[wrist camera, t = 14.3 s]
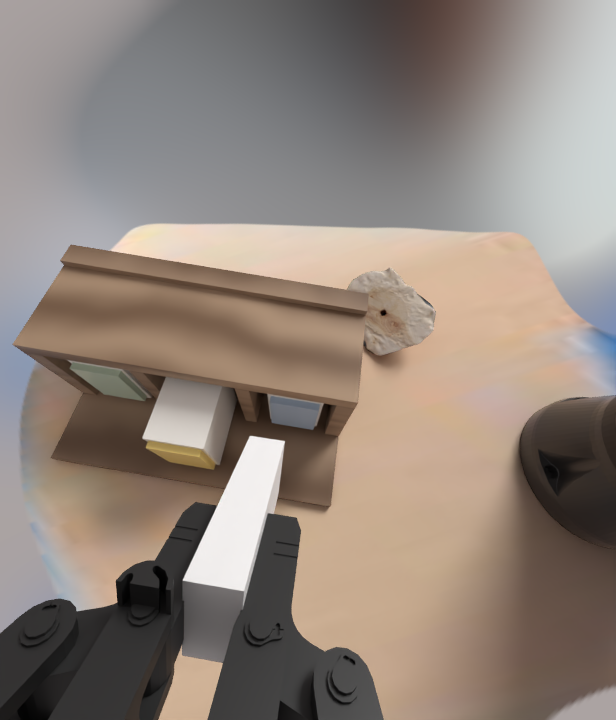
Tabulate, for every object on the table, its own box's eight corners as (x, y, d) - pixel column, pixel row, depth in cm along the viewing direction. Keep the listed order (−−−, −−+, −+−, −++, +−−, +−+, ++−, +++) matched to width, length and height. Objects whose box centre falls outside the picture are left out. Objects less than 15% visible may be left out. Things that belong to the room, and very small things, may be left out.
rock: (345, 363, 45) (439, 357, 40) (336, 357, 42) (437, 350, 37) (346, 286, 48) (435, 272, 43) (338, 275, 45) (432, 258, 40)
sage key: (149, 403, 36) (118, 374, 29) (103, 395, 36) (62, 365, 29) (173, 342, 39) (150, 304, 32) (131, 336, 39) (100, 296, 32)
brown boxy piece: (329, 506, 33) (350, 496, 23) (54, 459, 33) (-51, 427, 23) (347, 353, 41) (368, 293, 31) (124, 316, 41) (70, 244, 31)
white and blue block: (315, 431, 35) (322, 409, 29) (269, 423, 35) (265, 399, 29) (324, 368, 39) (333, 334, 32) (282, 361, 39) (282, 326, 32)
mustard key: (217, 471, 33) (201, 456, 26) (168, 462, 33) (139, 445, 26) (237, 399, 36) (226, 370, 30) (192, 392, 37) (171, 361, 30)
